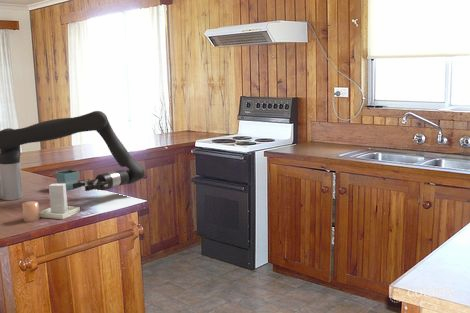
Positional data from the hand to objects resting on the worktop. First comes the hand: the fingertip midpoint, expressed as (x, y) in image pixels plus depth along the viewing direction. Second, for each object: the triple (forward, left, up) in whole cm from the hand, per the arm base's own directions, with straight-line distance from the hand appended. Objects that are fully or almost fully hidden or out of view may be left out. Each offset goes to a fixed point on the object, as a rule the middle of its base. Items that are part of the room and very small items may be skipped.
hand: (79, 187), depth 219 cm
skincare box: (-4, -10, -9) cm, 14 cm away
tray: (-3, -10, -9) cm, 14 cm away
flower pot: (-28, +31, -10) cm, 43 cm away
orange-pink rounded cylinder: (-9, -20, -9) cm, 24 cm away
